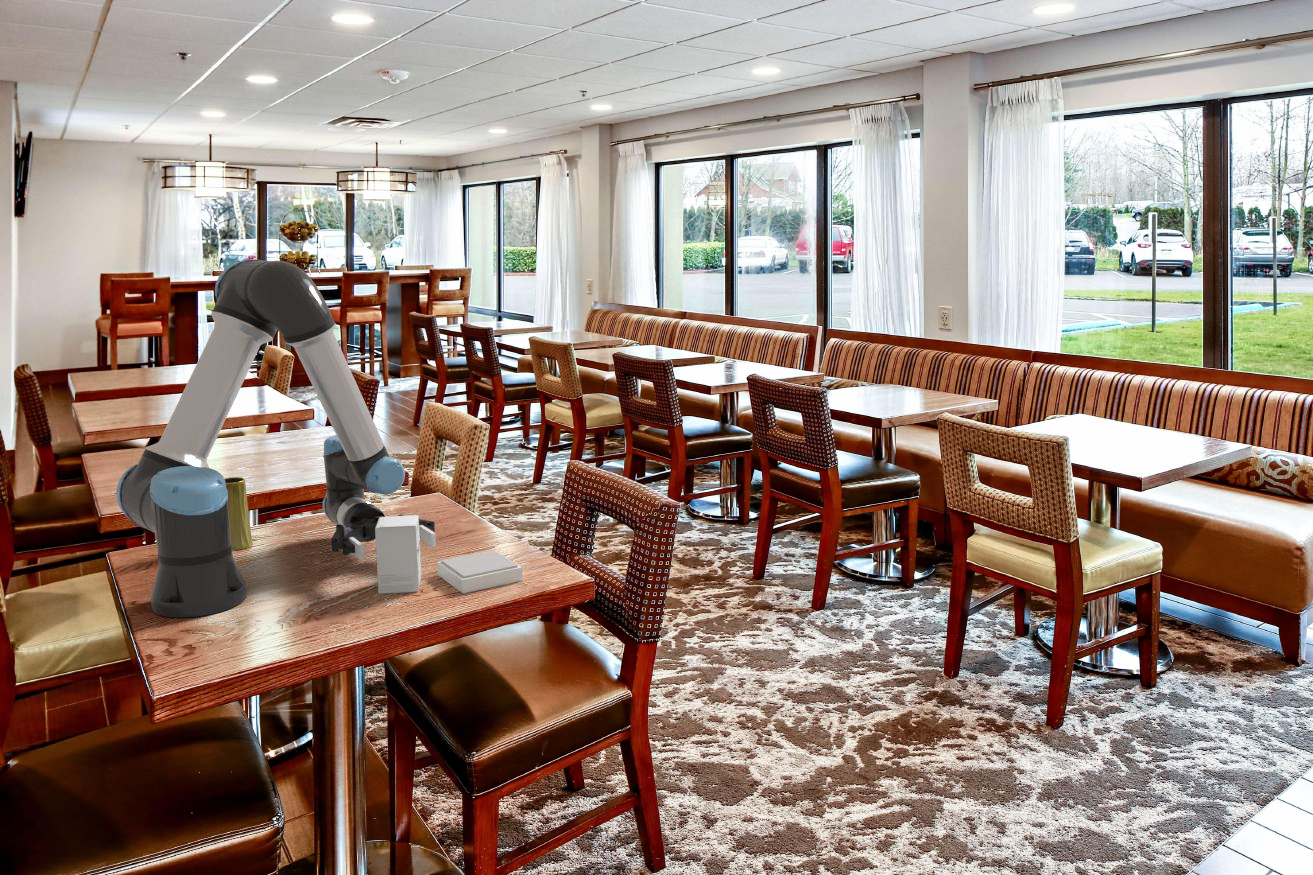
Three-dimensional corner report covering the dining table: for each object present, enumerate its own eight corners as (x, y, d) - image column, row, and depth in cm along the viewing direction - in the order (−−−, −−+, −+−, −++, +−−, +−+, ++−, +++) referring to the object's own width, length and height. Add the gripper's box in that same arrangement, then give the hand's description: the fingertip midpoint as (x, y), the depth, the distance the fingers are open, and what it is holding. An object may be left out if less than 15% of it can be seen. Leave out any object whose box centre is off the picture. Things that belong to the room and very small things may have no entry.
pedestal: (462, 593, 171) (462, 577, 171) (437, 574, 181) (436, 559, 180) (522, 580, 178) (522, 565, 177) (495, 563, 188) (494, 548, 187)
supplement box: (419, 592, 172) (416, 525, 169) (377, 594, 171) (373, 527, 168) (422, 578, 179) (419, 514, 176) (382, 580, 178) (378, 515, 175)
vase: (246, 539, 202) (241, 475, 199) (257, 546, 197) (252, 480, 194) (217, 545, 198) (210, 479, 195) (227, 552, 193) (221, 485, 190)
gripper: (421, 527, 200) (462, 553, 184) (300, 548, 186) (332, 579, 169) (419, 493, 199) (461, 516, 182) (297, 511, 185) (330, 539, 168)
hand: (399, 546), depth 176 cm, fingers open, 13 cm apart
